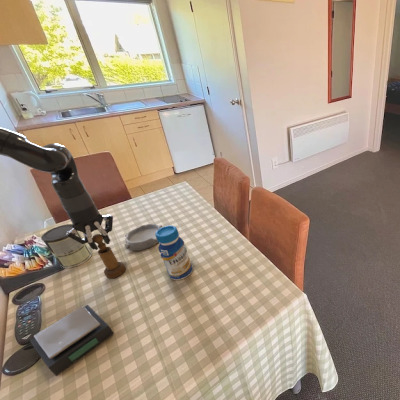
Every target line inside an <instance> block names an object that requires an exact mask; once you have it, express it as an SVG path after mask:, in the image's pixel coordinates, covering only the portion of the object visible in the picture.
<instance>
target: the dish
mask: <svg viewBox="0 0 400 400" xmlns="http://www.w3.org/2000/svg"><path fill="white" fill-rule="evenodd" d="M162 227H163V225H162V224H156V223H147V224H141V225H139V226H137V227H135V228H133V229H131V230H130V231H128V233H125V239H124V240H125V243H124V247H125V248H126V249H129V250H130V251H132V252H133V251H134V252H139V251H144V250H147V249H150V248H152V247H154V246H155V245H156V244H157V243H159V242H158V240H157V238H156V235H155V233H156V231H157V230H159V229H160V228H162Z"/></svg>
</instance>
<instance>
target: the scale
mask: <svg viewBox="0 0 400 400" xmlns="http://www.w3.org/2000/svg"><path fill="white" fill-rule="evenodd" d="M83 307H84V308H85V309H86V310H87V311H88V312H89V313H90V314H91V315H92V316H93V317H94V318H95V319H96V320H97V321H98V322H99V323H100V324H101V325H100V326H98V327H97V328H96V329H94V330H93V331H91V332H90V333H88V334H87V335H85V336H84V337H82V338H81V339H80V340H78V341H77V342H75V343H74V344H72V345H71V346H69V347H68V348H67V349H65V350H64V351H62V352H61V353H59V354H58V355H56V356H55V357H53V358H52V359H50V358H49V357H48V356H47V354H46V353H45V351H44V350H43V349H42V347H41V346H40V344H39V343H38V342H37V340H36V339H35V337H33V338H31V339H30V340H29V342H30V344H31V345H32V347H33V348H34V350H35V351H36V353H37V354H38V355H39V357H40V358H41V359H42V361H43V362H44V364H45V365H46V367H47V368H48V369H49V371H51V372H52V373H53V374H54V375H55V377H57V376H58V375H60V374H61V373H63V371H65V370H66V369H68V368H69V367H70V366H72V365H73V364H75V363H76V362H77V361H79V360H80V359H81V358H83V357H84V356H86V355H87V354H88V353H89V352H91V351H92V350H93V349H95V348H96V347H98V346H99V345H100V344H102V343H103V342H105V341H106V340H108V339H109V338H110V337H112V336H113V335H114V334H115V332H114V331H113V330H112V328H111V327H110V325H109V324H108V323H107V322H106V321H105V320H104V319H103V318H102V317H101V316H100V315H99V314H98V313H97V312H96V311H95V310H94V309H93V308H92V307H91V306H90V305H89V304H86V305H84V306H83Z"/></svg>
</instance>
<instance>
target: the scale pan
mask: <svg viewBox="0 0 400 400" xmlns="http://www.w3.org/2000/svg"><path fill="white" fill-rule="evenodd" d="M84 307H85V306H83V305H81V306H79V307H78V308H76V309H75V310H72V311H71V312H69V313H68V314H66V315H65V316H63V317H61V318H60V319H58V320H57V321H55V322H53V323H52V324H50V325H48V326H47V327H46V328H45V327H44V328H43V329H42V330H41V331H39V332H37V333H36V334H34V335H33V338H35V339H36V340H37V342H38V343H39V344H40V346H41V347H42V349H43V350H44V351H45V353H46V354H47V356H48V357H49V358H50V359H52V358H53V357H55V356H56V355H58V354H59V353H61V352H62V351H64V350H65V349H67V348H68V347H69V346H71V345H72V344H74V343H75V342H77V341H78V340H80V339H81V338H82V337H84V336H85V335H87V334H88V333H90V332H91V331H93V330H94V329H96V328H97V327H98V326H100V325H101V324H100V323H99V322H98V321H97V320H96V319H95V318H94V317H93V316H92V315H91V314H90V313H89V312H88V311H87V310H86V309H85V308H84Z"/></svg>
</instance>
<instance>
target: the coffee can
mask: <svg viewBox="0 0 400 400" xmlns="http://www.w3.org/2000/svg"><path fill="white" fill-rule="evenodd" d="M72 226H73V223H69V224H62V225H59V226H56V227H53V228H51V229H48V230H47V231H45V232H44V233H43V234H41V236H40V238H41V241H42V242H43V243H44V244H45V245H46V247H47V249H48V250H49V252H50V253H51V254H52V255H53V257H54V258H55V260H56V261H57V263H58V264H59V266H60V267H61V266H62V267H63V268H62V267H61V268H62V269H72V268H75V267H78V266H80V265H82V264H84V263H85V262H87V261H88V260H89V259H91V257H92V256H93V253H92V251H91V250H90V247H89V245H87V243H85V244H81V243H79V242H77V241H76V240H74V239H72V238H70V237H68V236H67V235H66V234H65V232H67V231H70V230H71V229H72V228H73V227H72ZM76 233H77V235H76V236H78V237H80V238H82V239H84V238H83V237H82V235H81V232H80V231H77V230H76Z"/></svg>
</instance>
